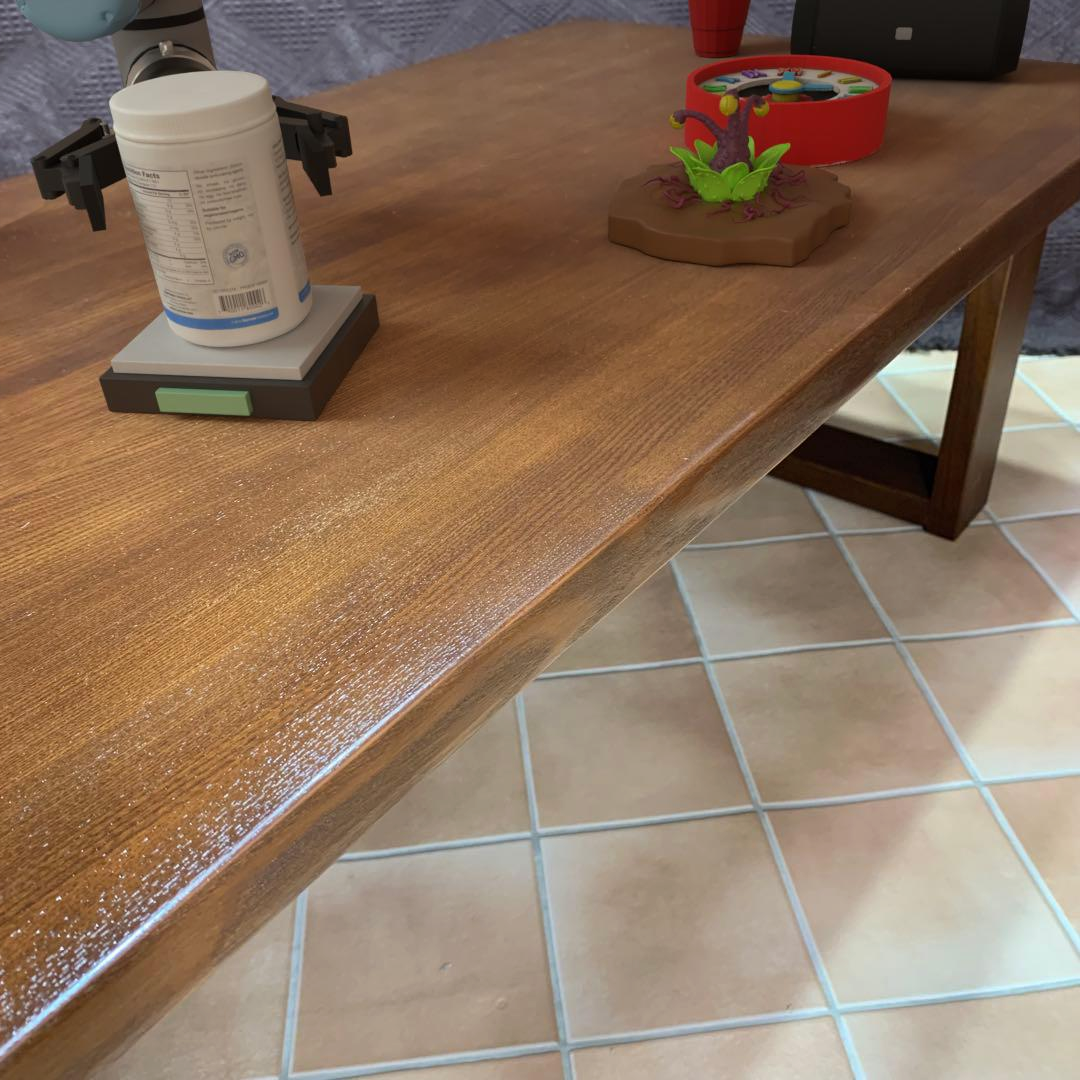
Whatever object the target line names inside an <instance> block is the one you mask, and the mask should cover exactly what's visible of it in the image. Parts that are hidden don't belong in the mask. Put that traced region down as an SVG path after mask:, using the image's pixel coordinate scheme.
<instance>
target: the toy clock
mask: <svg viewBox="0 0 1080 1080" xmlns="http://www.w3.org/2000/svg"><path fill="white" fill-rule="evenodd" d="M892 81H893V77H891V76H890V74H889V73H888V72H887V71H885V70H884V69H881V68H879V67H877V66H874V65H871V64H868V63H865V62H860V61H856V60H851V59H844V58H837V57H828V56H814V55H790V54H772V55H771V54H770V55H757V56H745V57H738V58H732V59H726V60H722V61H717V62H713V63H709V64H706V65H704V66H701V67H698V68H697V69H695V70H693V71H692V72H690V73H689V74H688V75H687V77H686V84H685V85H686V87H685V110H695V111H698V112H702V113H703V114H706V115H708V117H710V118H711V119H712V120H714V121H715V123H716V124H717V125H718V126H719V127H720V128H722V129H723V130H724V131H725V128H726V126H728V117H729V115H728V116H726V115H724V114H723V113H722V112H721V111H720V100H721V99H722V97H723V96H724V94H725V93H726V92H727V91H728V90H730V89H734V88H736V89H737V93H738V96H739V97H740V99H739V104H740V105H741V109H740V115H741V111H742V110H743V108H744V104H746V101H747V100H748V99H749V97H750V96H752V95H753V94H754V95H757V96H760V97H761V98H763V99H764V100H765V101H767V102H768V104H769V112H768V113H767V115H765V116H764V117H760V116H757V115H756V113H755V111H754V104H752V107H751V108H752V109H751V111H750V115H749V123H748V136H751V137H752V139H753V141H754V157H756V158H758V157H759V156H760V155H761V154H762V153H763V152H765V151H766V150H768V149H769V148H771V147H773V146H776V145H780V144H786V143H790V148H789V149H788V150H787V151H786V152H785V153H784V154H783V155H782V156H781V157H780V159H779V160H780V161H781V163H784V164H790V165H799V166H808V167H813V168H820V167H829V166H836V165H841V164H846V162H847V163H850V162H853V161H854V162H855V161H857V160H861V159H864V158H865V157H868V156H870V155H873V154H874V153H876V152H877V151H879V150H880V149H881V147H882V146H883V145H884V141H885V133H886V126H887V120H888V119H887V118H888V111H889V103H890V97H891V89H892ZM696 139H698V140H701V141H703V142H704V143H706V144H708V145H710V146H711V147H712V148H713V147H714V145H715V142H716V138H715V137H714V135H713V133H712V132H711V131H710V130H709V129H708V128H707V127H706V126H705V125H704V124H703V123H702V122H701V121H699V120H697V119H695V118H692V117H687V118H686V121H685V124H684V143H685V145H686V147H687V148H688V149H690V151H692V152H694V153H696V154H697V155H698V152H697V150H696V148H695V145H694V142H695V140H696ZM840 163H841V164H840ZM835 164H836V165H835Z"/></svg>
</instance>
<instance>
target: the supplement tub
mask: <svg viewBox="0 0 1080 1080" xmlns="http://www.w3.org/2000/svg"><path fill="white" fill-rule="evenodd" d="M272 95H273V94H272V89H271V87H270V83H269V81H268V80H267V78H265V77H264V76H262V75H260V74H256V73H252V72H247V71H241V70H217V71H202V72H190V73H183V74H175V75H169V76H164V77H159V78H155V79H151V80H147V81H143V82H140V83H137V84H134V85H131V86H129V87H126V88H122V89H120V90H119V91H117V92H115V93H114V94H113V95H112V96H111V97H110V99H109V100H108V101H109V102H108V105H109V109H110V114H111V117H112V121H113V125H112V128H113V129H114V131H115V136H116V140H117V144H118V147H119V151H120V155H121V159H122V162H123V166H124V169H125V173H126V179H127V183H128V187H129V191H130V194H131V198H132V201H133V204H134V209H135V211H136V216H137V218H138V219H137V220H138V222H139V226H140V229H141V233H142V236H143V239H144V243H145V247H146V250H147V254H148V257H149V261H150V264H151V268H152V271H153V275H154V278H155V282H156V286H157V289H158V293H159V297H160V299H161V303H162V306H163V311H164V310H165V313H166V317H167V320H168V324H169V326H170V328H171V329H172V330H173V331H174V333H175V334H177V335H178V336H179V337H181V338H182V339H184V340H186V341H189V342H191V343H194V344H198V345H203V346H210V347H235V346H243V345H249V344H255V343H260V342H263V341H267V340H270V339H272V338H275V337H278V336H280V335H283V334H285V333H287V332H289V331H290V330H292V329H293V328H295V327H296V326H298V325H299V324H300V323H301V322H302V321H303V320H304V319H305V317H306V316H307V315H308V313H309V311H310V309H311V306H312V292H311V286H310V285H311V280H310V276H309V271H308V265H307V260H306V256H305V251H304V246H303V239H302V235H301V229H300V224H299V219H298V214H297V209H296V203H295V199H294V198H295V197H294V193H293V192H294V191H293V187H292V183H291V177H290V173H289V172H290V171H289V166H288V162H287V161H288V159H286V155H285V150H284V144H283V139H282V134H281V129H280V124H279V119H278V114H277V112H276V105H275V103H274V102H273V99H272Z"/></svg>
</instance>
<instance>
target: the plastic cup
mask: <svg viewBox="0 0 1080 1080" xmlns="http://www.w3.org/2000/svg"><path fill="white" fill-rule="evenodd" d="M751 1H752V0H687V3H688V4H687V5H688V14H689V22H690V27H691V35H692V41H693V42H692V44H693V50H694V54H695V55H696V56H699V57H702V58H703V57H704V58H726V57H732V56H735V55H737V54H738V53H739V50H740V48H741V45H742V39H743V35H744V30H745V26H746V24H747V20H748V15H749V11H750V6H751V3H752V2H751Z"/></svg>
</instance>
